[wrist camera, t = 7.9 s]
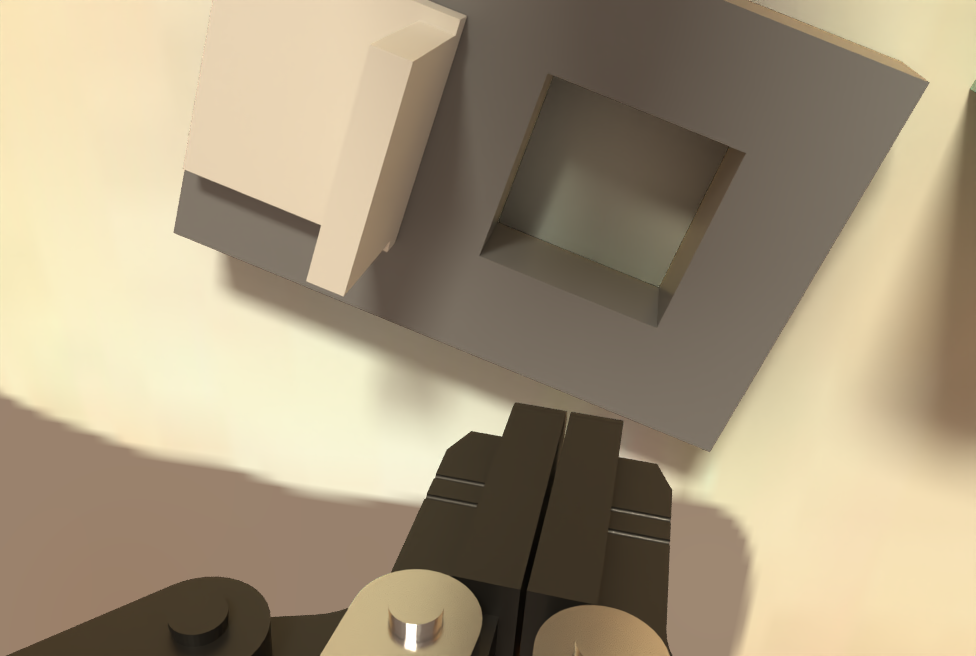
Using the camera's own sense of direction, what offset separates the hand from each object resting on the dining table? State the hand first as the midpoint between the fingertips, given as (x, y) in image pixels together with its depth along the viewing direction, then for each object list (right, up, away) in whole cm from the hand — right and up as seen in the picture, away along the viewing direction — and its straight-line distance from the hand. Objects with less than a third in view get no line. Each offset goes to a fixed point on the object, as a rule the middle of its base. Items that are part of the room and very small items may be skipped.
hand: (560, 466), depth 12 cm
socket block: (0, +8, +15) cm, 17 cm away
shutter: (-6, +8, +12) cm, 16 cm away
